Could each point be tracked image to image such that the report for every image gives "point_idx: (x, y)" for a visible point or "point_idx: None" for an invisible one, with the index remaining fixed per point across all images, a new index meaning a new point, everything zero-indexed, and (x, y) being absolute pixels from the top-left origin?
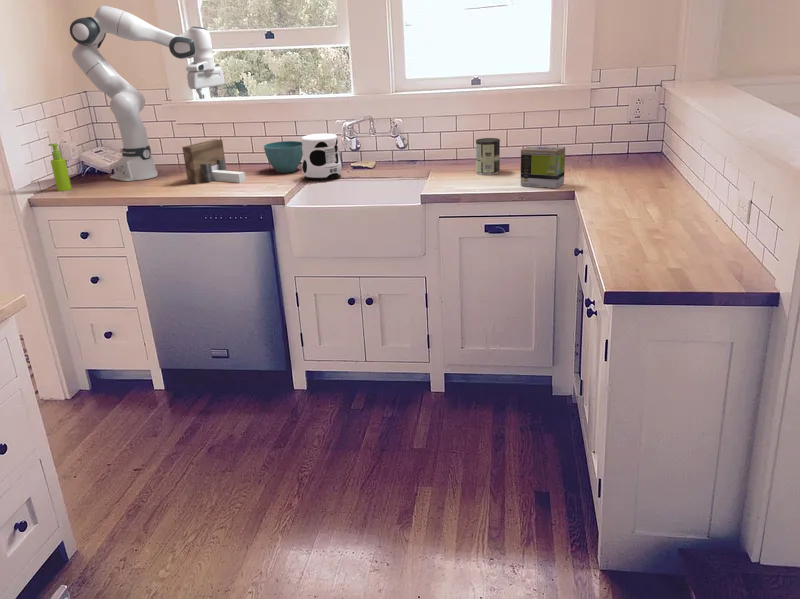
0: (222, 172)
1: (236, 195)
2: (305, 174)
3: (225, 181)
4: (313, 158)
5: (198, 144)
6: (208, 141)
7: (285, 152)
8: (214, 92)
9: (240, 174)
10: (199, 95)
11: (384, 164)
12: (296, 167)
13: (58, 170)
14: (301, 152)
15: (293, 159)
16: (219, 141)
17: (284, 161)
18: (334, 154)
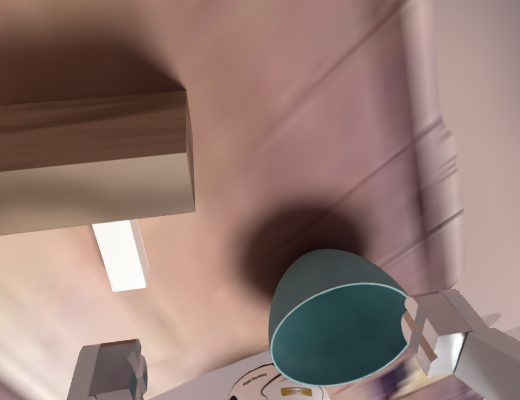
0: (97, 226)
1: (6, 362)
2: (230, 394)
3: None
4: None
5: (6, 207)
6: (111, 184)
7: (286, 364)
8: (435, 352)
9: (122, 288)
10: (74, 398)
11: (434, 395)
12: (322, 307)
13: None
14: (341, 359)
15: (304, 344)
16: (170, 211)
17: (282, 331)
18: None
